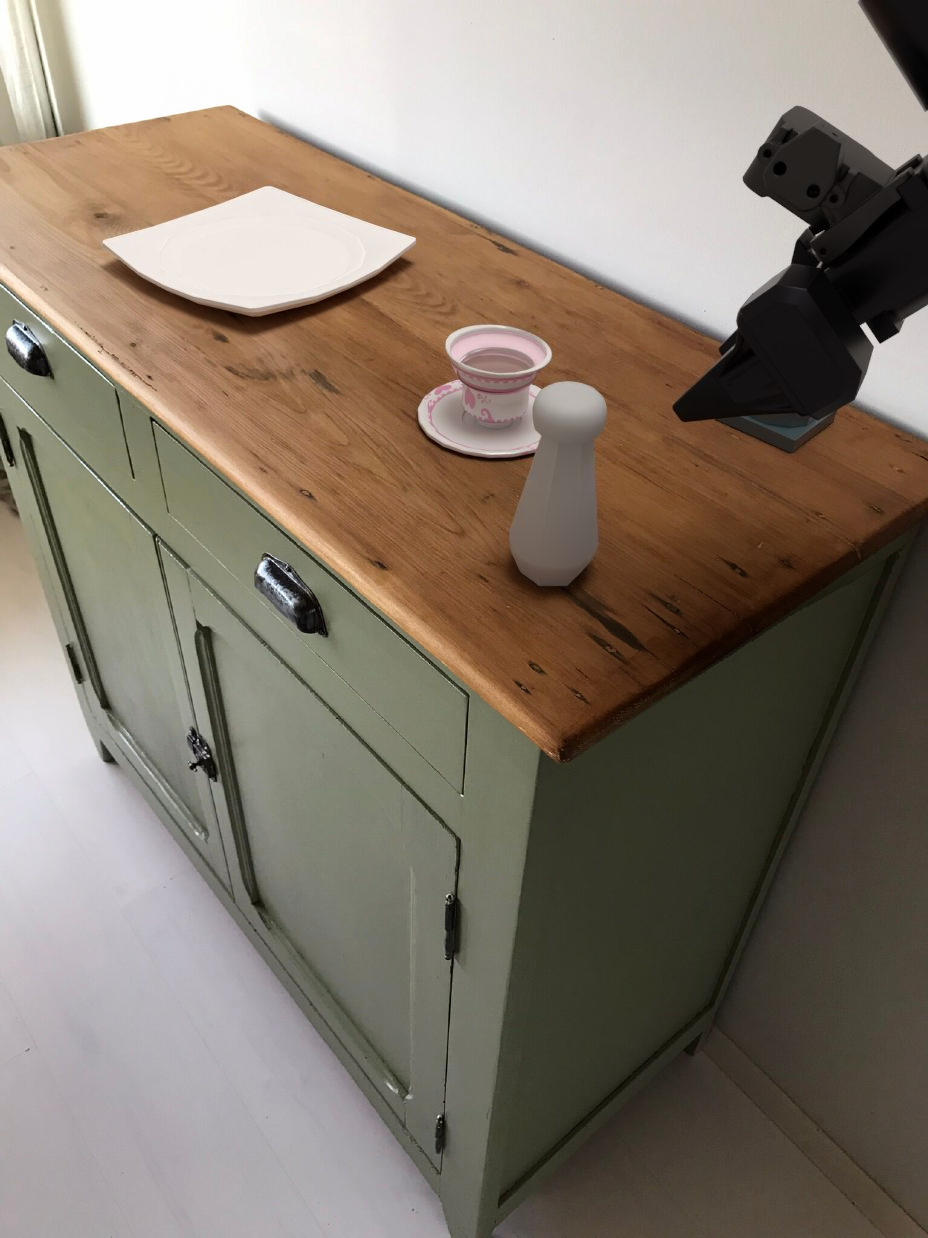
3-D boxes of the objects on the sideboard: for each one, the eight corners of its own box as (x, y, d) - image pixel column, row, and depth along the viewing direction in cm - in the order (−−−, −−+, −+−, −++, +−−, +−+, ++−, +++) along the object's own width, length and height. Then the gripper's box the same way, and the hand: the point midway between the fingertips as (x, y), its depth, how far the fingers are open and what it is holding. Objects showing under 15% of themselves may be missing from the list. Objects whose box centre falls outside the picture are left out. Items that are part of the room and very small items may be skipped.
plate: (255, 346, 85) (252, 317, 83) (89, 267, 96) (83, 241, 94) (433, 264, 99) (434, 238, 97) (271, 204, 110) (269, 180, 108)
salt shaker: (548, 608, 61) (571, 431, 52) (488, 563, 64) (500, 388, 55) (611, 571, 63) (642, 397, 55) (550, 530, 67) (571, 358, 58)
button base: (833, 421, 79) (844, 388, 77) (791, 453, 75) (801, 420, 73) (759, 389, 82) (768, 357, 80) (715, 419, 78) (722, 386, 76)
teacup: (595, 417, 78) (605, 347, 73) (504, 479, 71) (509, 406, 67) (481, 368, 83) (484, 300, 79) (386, 421, 76) (384, 349, 72)
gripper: (908, 26, 49) (668, 224, 59) (846, 72, 35) (550, 316, 46) (1022, 210, 50) (769, 369, 61) (1003, 319, 37) (684, 499, 48)
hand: (701, 382), depth 54 cm, fingers open, 9 cm apart
